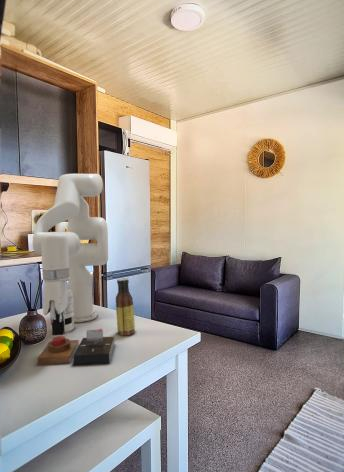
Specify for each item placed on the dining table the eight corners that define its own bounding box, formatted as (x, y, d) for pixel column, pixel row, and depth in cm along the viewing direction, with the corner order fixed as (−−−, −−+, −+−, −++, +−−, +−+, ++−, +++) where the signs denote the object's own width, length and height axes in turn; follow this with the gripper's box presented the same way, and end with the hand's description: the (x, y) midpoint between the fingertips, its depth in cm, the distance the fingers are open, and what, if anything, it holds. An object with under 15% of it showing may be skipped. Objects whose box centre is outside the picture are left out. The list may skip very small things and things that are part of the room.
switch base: (83, 346, 100) (82, 337, 100) (114, 345, 101) (114, 335, 100) (73, 365, 87) (73, 355, 87) (109, 363, 88) (109, 353, 87)
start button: (54, 341, 95) (54, 336, 95) (66, 341, 96) (66, 335, 95) (51, 346, 92) (51, 340, 92) (63, 345, 92) (63, 340, 92)
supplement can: (52, 335, 110) (50, 294, 109) (49, 328, 117) (48, 290, 116) (75, 331, 114) (74, 291, 113) (72, 325, 121) (70, 287, 120)
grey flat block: (87, 346, 93) (86, 331, 92) (88, 344, 94) (87, 329, 94) (102, 345, 93) (101, 330, 93) (103, 343, 94) (102, 328, 94)
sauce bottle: (136, 330, 114) (135, 277, 113) (132, 336, 108) (131, 280, 106) (119, 329, 115) (117, 277, 113) (114, 336, 109) (112, 280, 107)
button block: (50, 347, 99) (50, 335, 99) (78, 346, 100) (78, 334, 100) (37, 365, 88) (36, 351, 87) (69, 363, 88) (69, 350, 88)
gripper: (51, 270, 99) (53, 326, 100) (34, 279, 84) (37, 344, 85) (74, 270, 100) (76, 325, 101) (62, 278, 85) (64, 343, 86)
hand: (58, 334), depth 93 cm, fingers closed
